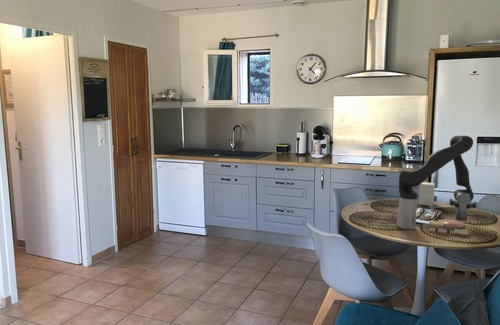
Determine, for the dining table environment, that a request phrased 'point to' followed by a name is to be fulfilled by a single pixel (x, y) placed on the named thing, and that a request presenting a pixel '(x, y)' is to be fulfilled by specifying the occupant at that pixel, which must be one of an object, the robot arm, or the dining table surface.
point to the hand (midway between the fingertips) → (462, 206)
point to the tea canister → (462, 206)
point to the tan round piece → (452, 223)
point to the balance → (449, 231)
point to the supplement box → (426, 193)
